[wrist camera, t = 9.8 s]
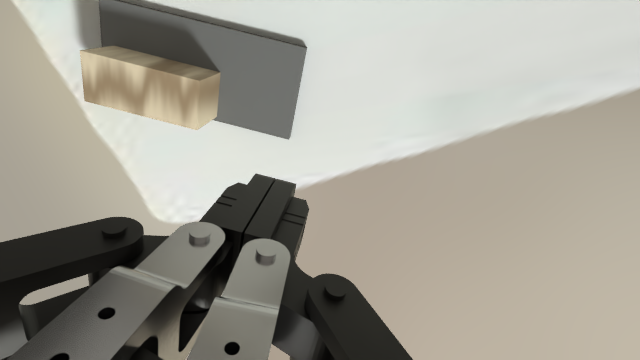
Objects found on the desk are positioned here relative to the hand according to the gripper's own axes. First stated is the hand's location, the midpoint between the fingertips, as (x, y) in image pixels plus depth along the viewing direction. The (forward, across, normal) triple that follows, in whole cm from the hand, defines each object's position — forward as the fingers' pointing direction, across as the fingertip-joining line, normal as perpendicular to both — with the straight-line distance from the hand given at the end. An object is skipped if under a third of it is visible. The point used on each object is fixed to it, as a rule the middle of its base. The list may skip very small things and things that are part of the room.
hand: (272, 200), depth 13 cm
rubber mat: (+27, +15, +3) cm, 31 cm away
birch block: (+24, +12, +5) cm, 27 cm away
